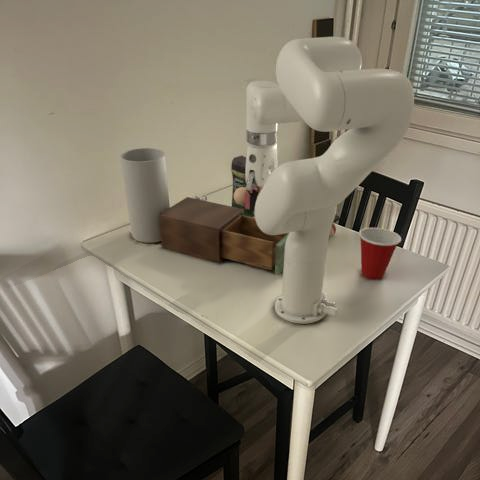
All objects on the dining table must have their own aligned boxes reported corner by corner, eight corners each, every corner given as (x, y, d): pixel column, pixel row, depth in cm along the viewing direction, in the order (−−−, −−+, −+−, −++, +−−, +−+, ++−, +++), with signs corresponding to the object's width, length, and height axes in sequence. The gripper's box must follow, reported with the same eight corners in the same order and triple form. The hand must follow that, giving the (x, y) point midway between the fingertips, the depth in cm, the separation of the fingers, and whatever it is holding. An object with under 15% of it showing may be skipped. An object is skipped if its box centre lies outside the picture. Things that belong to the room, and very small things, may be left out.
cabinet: (243, 242, 149) (243, 209, 142) (219, 263, 138) (218, 228, 132) (189, 229, 156) (187, 196, 150) (162, 248, 146) (158, 214, 140)
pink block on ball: (281, 208, 130) (281, 191, 127) (273, 214, 127) (274, 197, 124) (238, 199, 135) (238, 183, 132) (230, 205, 131) (230, 189, 129)
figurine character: (306, 256, 144) (341, 236, 151) (306, 234, 140) (342, 214, 146) (291, 248, 149) (325, 229, 155) (290, 226, 144) (325, 207, 150)
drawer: (314, 257, 139) (317, 229, 134) (295, 279, 129) (297, 249, 124) (241, 240, 148) (241, 212, 143) (219, 259, 138) (218, 230, 133)
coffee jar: (227, 211, 167) (226, 157, 156) (244, 205, 172) (244, 151, 161) (247, 220, 162) (247, 164, 151) (263, 213, 166) (265, 158, 155)
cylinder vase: (180, 234, 153) (173, 154, 139) (148, 248, 146) (138, 165, 131) (155, 222, 160) (146, 145, 146) (124, 235, 153) (111, 155, 138)
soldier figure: (195, 223, 162) (182, 200, 168) (204, 228, 166) (191, 206, 172) (212, 207, 160) (198, 184, 166) (220, 213, 164) (207, 190, 170)
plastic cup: (401, 275, 133) (410, 235, 126) (377, 289, 127) (385, 248, 120) (368, 260, 140) (375, 221, 132) (344, 273, 134) (350, 233, 127)
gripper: (260, 148, 112) (258, 222, 123) (289, 130, 124) (285, 198, 135) (231, 144, 115) (232, 216, 126) (262, 126, 127) (261, 193, 138)
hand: (259, 206), depth 130 cm, fingers closed on pink block on ball, 4 cm apart
